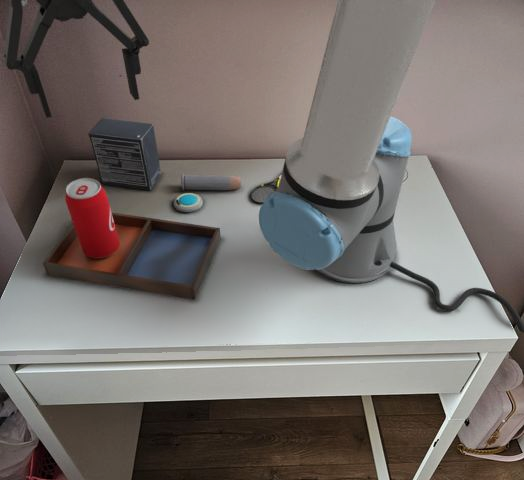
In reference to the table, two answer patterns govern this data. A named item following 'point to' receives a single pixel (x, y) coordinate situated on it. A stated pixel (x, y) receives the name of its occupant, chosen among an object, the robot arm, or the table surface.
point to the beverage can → (92, 217)
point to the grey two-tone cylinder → (210, 182)
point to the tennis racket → (266, 189)
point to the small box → (126, 153)
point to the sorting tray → (142, 257)
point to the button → (188, 202)
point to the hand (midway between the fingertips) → (92, 104)
